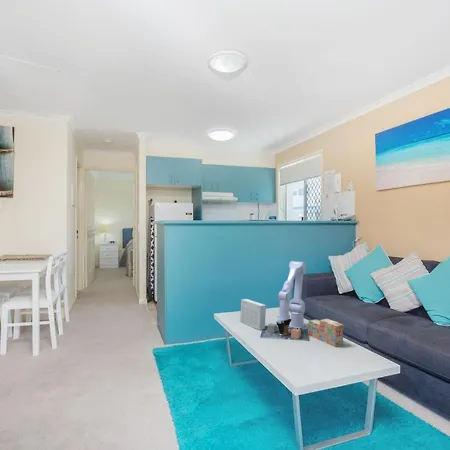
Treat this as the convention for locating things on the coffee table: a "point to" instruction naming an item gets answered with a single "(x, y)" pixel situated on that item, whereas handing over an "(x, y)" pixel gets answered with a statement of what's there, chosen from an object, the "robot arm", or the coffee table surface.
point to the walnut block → (286, 330)
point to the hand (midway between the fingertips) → (283, 331)
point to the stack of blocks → (327, 331)
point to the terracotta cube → (296, 333)
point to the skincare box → (253, 314)
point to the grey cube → (272, 327)
